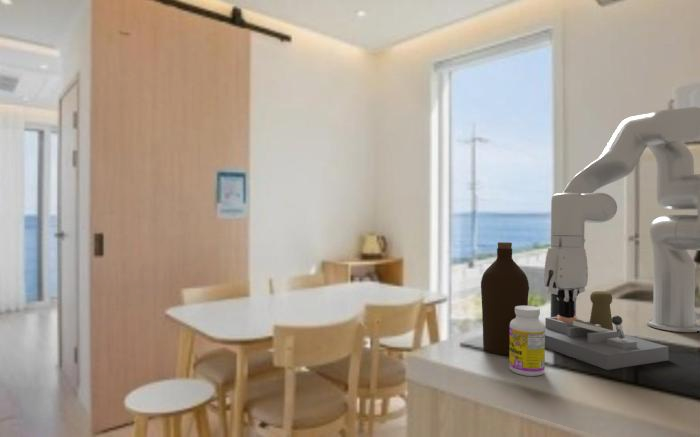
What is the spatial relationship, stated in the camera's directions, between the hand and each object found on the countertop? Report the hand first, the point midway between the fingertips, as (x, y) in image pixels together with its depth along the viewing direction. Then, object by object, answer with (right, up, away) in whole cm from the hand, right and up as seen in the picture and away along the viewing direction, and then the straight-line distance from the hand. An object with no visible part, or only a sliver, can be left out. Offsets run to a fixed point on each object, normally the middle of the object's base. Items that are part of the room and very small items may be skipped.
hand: (566, 316), depth 115 cm
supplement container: (+7, -6, +18) cm, 20 cm away
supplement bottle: (-18, -7, -22) cm, 29 cm away
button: (0, -3, 0) cm, 3 cm away
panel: (+3, -6, -6) cm, 9 cm away
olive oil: (-18, -7, -7) cm, 20 cm away
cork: (+14, -7, +10) cm, 18 cm away
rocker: (+3, -1, -7) cm, 8 cm away
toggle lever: (+6, -2, -14) cm, 15 cm away
